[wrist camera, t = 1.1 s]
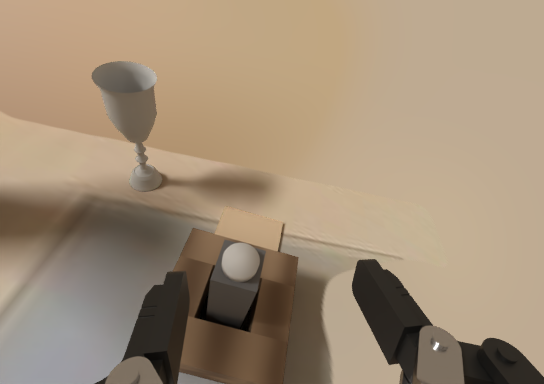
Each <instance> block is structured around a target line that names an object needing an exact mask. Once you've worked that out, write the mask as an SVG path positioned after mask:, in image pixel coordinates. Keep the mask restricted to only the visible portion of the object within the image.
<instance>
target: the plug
mask: <svg viewBox="0 0 544 384" xmlns="http://www.w3.org/2000/svg"><path fill="white" fill-rule="evenodd" d="M265 254H266V251H265V250H261V249H258V248H254V247H252V246H251V245H249V244H246V243H236V242H232V241H229V240H224V243H223V246H222V248H221V251H220V254H219V257H218V260H217V262H216V265H215V268H214V271H213V274H212V276H211V279H210V287H209V296H208V305H207V314H206V321H209V322H212V323H216V324H220V325H224V326H228V327H231V328H235V329H240V327H241V325H242V323H243V320H244V318H245V316H246V314H247V312H248V310H249V308H250V306H251V304H252V302H253V299H254V297H255V295H256V293H257V290H258V285H259V281H260V276H261V272H262V267H263V263H264V258H265Z"/></svg>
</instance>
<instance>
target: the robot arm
mask: <svg viewBox="0 0 544 384" xmlns="http://www.w3.org/2000/svg"><path fill="white" fill-rule="evenodd" d="M352 291H353V294H354V297H355V299H356V301H357V303H358V305H359V307H360V309H361V311H362V313H363V315H364V317H365V319H366V320H367V323H368V324H369V326H370V328H371V330H372V332H373V334H374V336H375V338H376V340H377V342H378V344H379V346H380V348H381V350H382V352H383V353H384V356H385V358H386V360H387V362H388V364H389V365H391V364H398V363H399V364H400V366H401V368H402V372H401V375H400V384H544V377H543V376H542V375H541V374H540V373H539V371H537V369H536V368H535V367H534V366H533V365H532V364H531V363H530V362H529V361H528V360H527V358H526V357H525V356H524V355H523V354H522V353H521V352H520V351H519V350H517V349H516V348H515V347H513V346H512V345H510V344H509V343H507V342H505V341H502V340H500V339H496V338H488V339H486V340H484V342H483V343H482V345H481V346H478V345H473V344H469V343H464V342H459V341H457V340H456V339H455V338H454V337H453V336H452V335H451V334H450V333H448V332H447V331H445V330H443V329H441V328H439V327H436V326H433V325H432V324H431V322H430V321H429V319H428V318H427V317H426V315H425V314H424V313H423V311H422V310H421V309H420V307H419V306H418V305H417V303H416V302H415V301H414V299H413V298H412V297H411V296H410V295H409V293H408V291H407V290H406V289H405V288H404V286H403V285H402V283H401V282H400V281H399V279H398V278H397V277H396V276H395V275H394V274H392V273H391V272H390V271H388V270H387V269H386V270H383V269H382V267H381V266H380V264H379V263H378V262H377V260H375V259H368V260H359V261H358V262H357V266H356V270H355V274H354V278H353V282H352ZM189 305H190V296H189V288H188V281H187V274H186V271H174V272H167V274H166V278H165V281H164V285H154V286H153V287H152V289H151V290H150V291H149V292H148V293H147V294H146V296H145V299H144V301H143V304H142V309H141V310H140V313H139V316H138V319H137V321H136V324H135V327H134V330H133V333H132V335H131V338H130V341H129V344H128V347H127V350H126V352H125V355H124V358H123V360H122V361H121V363H120V364H118V365H117V366H116V367H115V368H114V369H113V370H112V371H111V373H110V374H109V376H107V377H106V378H104V379H103V380H101V381H99V382H97V383H95V384H177V381H178V375H179V369H180V362H181V356H182V350H183V344H184V338H185V332H186V326H187V319H188V313H189Z"/></svg>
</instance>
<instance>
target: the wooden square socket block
mask: <svg viewBox="0 0 544 384" xmlns="http://www.w3.org/2000/svg"><path fill="white" fill-rule="evenodd" d="M224 240H229V241H232V242H236V243H245V242H241V241H238V240H234V239H231V238H227V237H224V236H220V235H216V234H213V233H209V232H206V231H202V230H198V229H195V228H193V229H192V231H191V233H190V236H189V238H188V240H187V242H186V244H185V246H184V248H183V250H182V253H181V255H180V257H179V259H178V261H177V263H176V265H175V268H174V270H173V272H174V271H186V274H187V281H188V288H189V296H190V305H189V313H188V319H187V326H186V332H185V338H184V344H183V350H182V356H181V362H180V369H179V372H182V373H186V374H190V375H194V376H197V377H201V378H205V379H209V380H213V381H217V382H221V383H225V384H283V378H284V370H285V362H286V354H287V346H288V338H289V329H290V321H291V313H292V305H293V297H294V289H295V281H296V273H297V265H298V257H295V256H292V255H288V254H285V253H281V252H277V251H274V250H270V249H267V248H263V247H259V246H256V245H252V244H249V243H246V244H249V245H251V246H252V247H254V248H258V249H261V250H265V251H266V254H265V258H264V263H263V267H262V272H261V276H260V281H259V285H258V290H257V293H256V295H255V297H254V299H253V303H252V307H251V311H250V316H249V320H248V325H247V329H246V331H243V330H239V329H235V328H231V327H228V326H224V325H220V324H216V323H212V322H209V321H205V320H201V319H199V317H200V314H201V311H202V308H203V306H204V303H205V300H206V297H207V294H208V291H209V287H210V279H211V276H212V274H213V271H214V268H215V265H216V262H217V260H218V257H219V254H220V251H221V248H222V246H223V243H224Z"/></svg>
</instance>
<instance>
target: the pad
mask: <svg viewBox="0 0 544 384" xmlns="http://www.w3.org/2000/svg"><path fill="white" fill-rule="evenodd" d="M282 226H283V222H281V221H277V220H274V219H270V218H267V217H263V216H260V215H256V214H252V213H249V212H245V211H242V210H238V209H235V208H231V207H228V206H225V208H224V211H223V213H222V216H221V218H220V221H219V223H218V226H217V228H216V231H215V233H214V234H216V235H220V236H224V237H227V238H231V239H234V240H238V241H241V242H245V243H249V244H252V245H256V246H259V247H263V248H267V249H270V250H274V251H277V252H278V247H279V242H280V237H281V231H282Z"/></svg>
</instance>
